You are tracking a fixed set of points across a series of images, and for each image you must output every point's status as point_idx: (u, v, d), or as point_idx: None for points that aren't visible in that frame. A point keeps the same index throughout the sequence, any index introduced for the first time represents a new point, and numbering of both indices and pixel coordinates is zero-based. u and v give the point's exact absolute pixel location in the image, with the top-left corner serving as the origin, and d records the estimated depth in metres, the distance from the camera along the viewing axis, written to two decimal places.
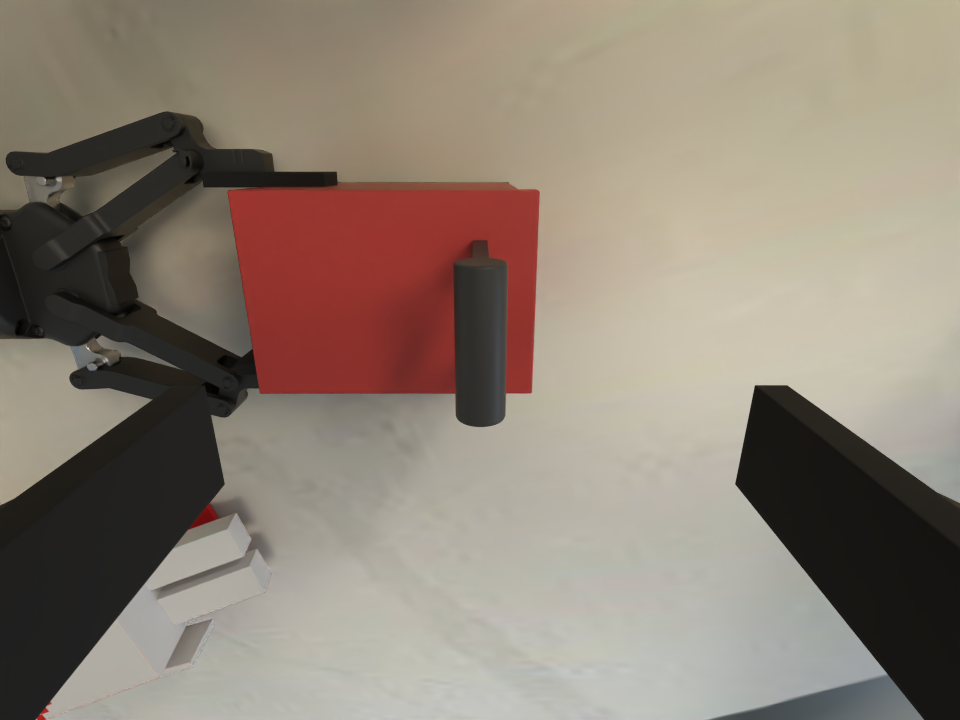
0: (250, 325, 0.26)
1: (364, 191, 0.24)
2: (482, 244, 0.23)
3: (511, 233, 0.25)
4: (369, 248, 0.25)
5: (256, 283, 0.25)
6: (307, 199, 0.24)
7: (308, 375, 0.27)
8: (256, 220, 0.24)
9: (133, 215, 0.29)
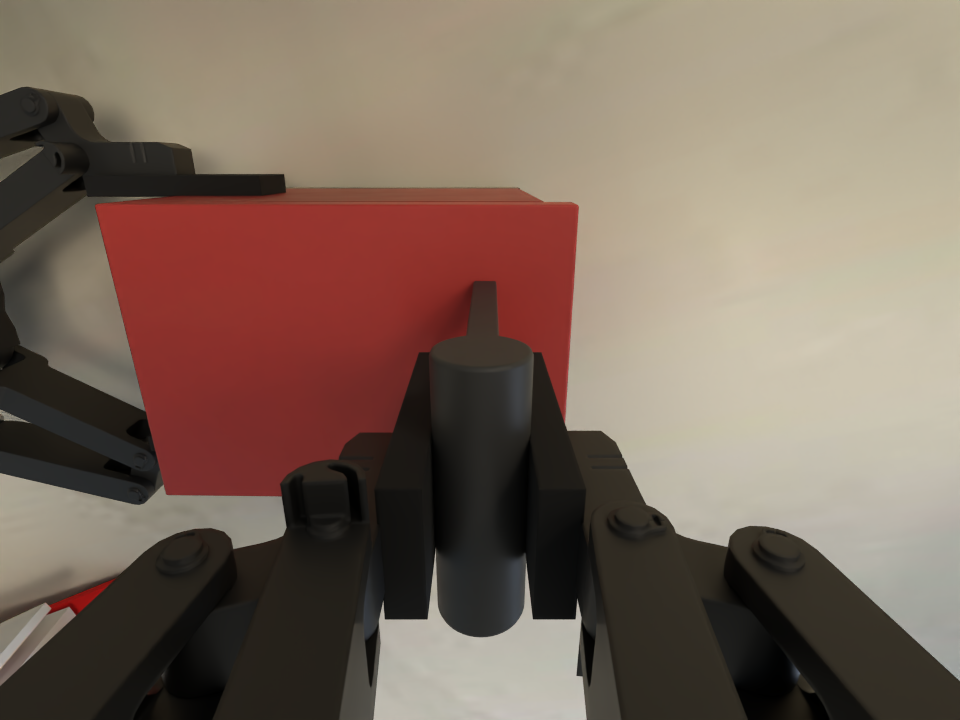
0: (145, 401, 0.18)
1: (305, 206, 0.15)
2: (488, 291, 0.15)
3: (533, 270, 0.16)
4: (315, 293, 0.16)
5: (149, 342, 0.17)
6: (218, 218, 0.15)
7: (234, 471, 0.19)
8: (142, 249, 0.16)
9: None
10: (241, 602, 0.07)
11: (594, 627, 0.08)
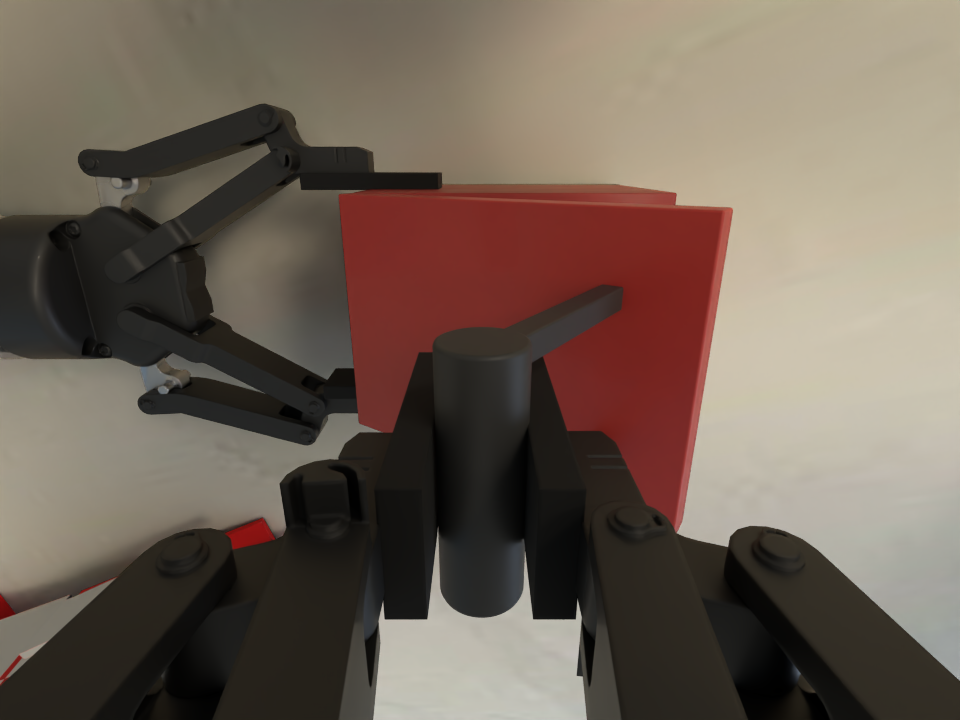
0: (353, 347, 0.23)
1: (466, 200, 0.17)
2: (596, 295, 0.14)
3: (665, 280, 0.14)
4: (467, 278, 0.18)
5: (359, 302, 0.22)
6: (407, 208, 0.19)
7: None
8: (360, 230, 0.21)
9: (219, 221, 0.25)
10: (241, 602, 0.07)
11: (594, 627, 0.08)
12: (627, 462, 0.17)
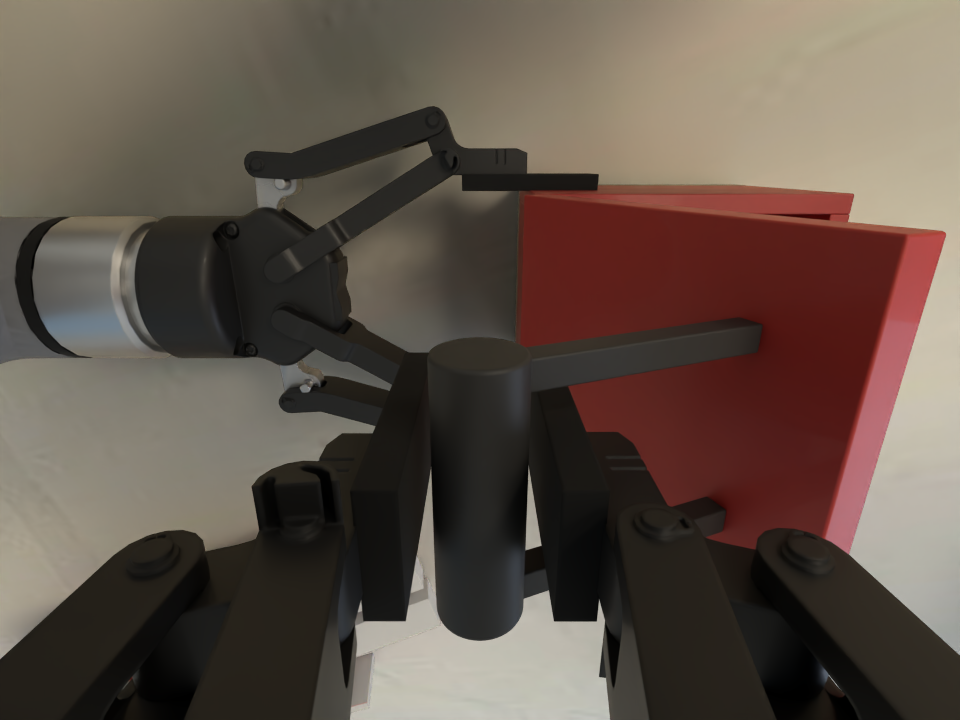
0: (520, 344, 0.23)
1: (619, 206, 0.16)
2: (707, 328, 0.11)
3: (814, 323, 0.11)
4: (611, 290, 0.17)
5: (528, 301, 0.22)
6: (571, 211, 0.18)
7: None
8: (536, 231, 0.21)
9: (376, 222, 0.26)
10: (212, 604, 0.07)
11: (618, 628, 0.08)
12: (744, 546, 0.13)
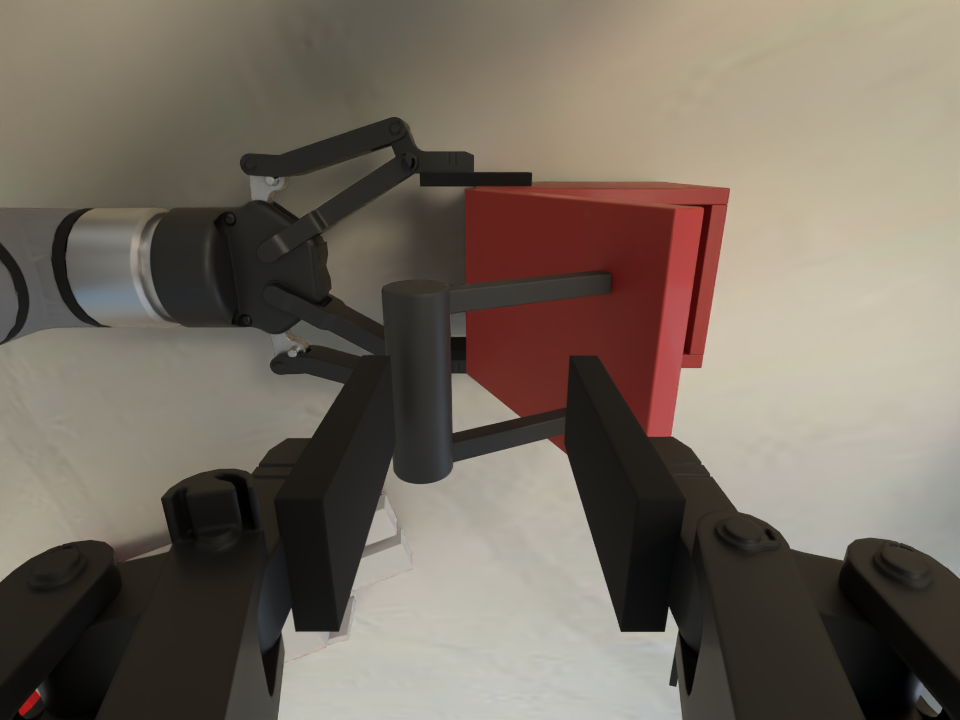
0: None
1: (528, 196, 0.21)
2: (572, 275, 0.17)
3: (637, 269, 0.16)
4: (526, 259, 0.22)
5: (470, 275, 0.28)
6: (497, 201, 0.24)
7: (487, 372, 0.28)
8: (474, 217, 0.26)
9: (350, 212, 0.31)
10: (117, 618, 0.07)
11: (694, 637, 0.08)
12: None
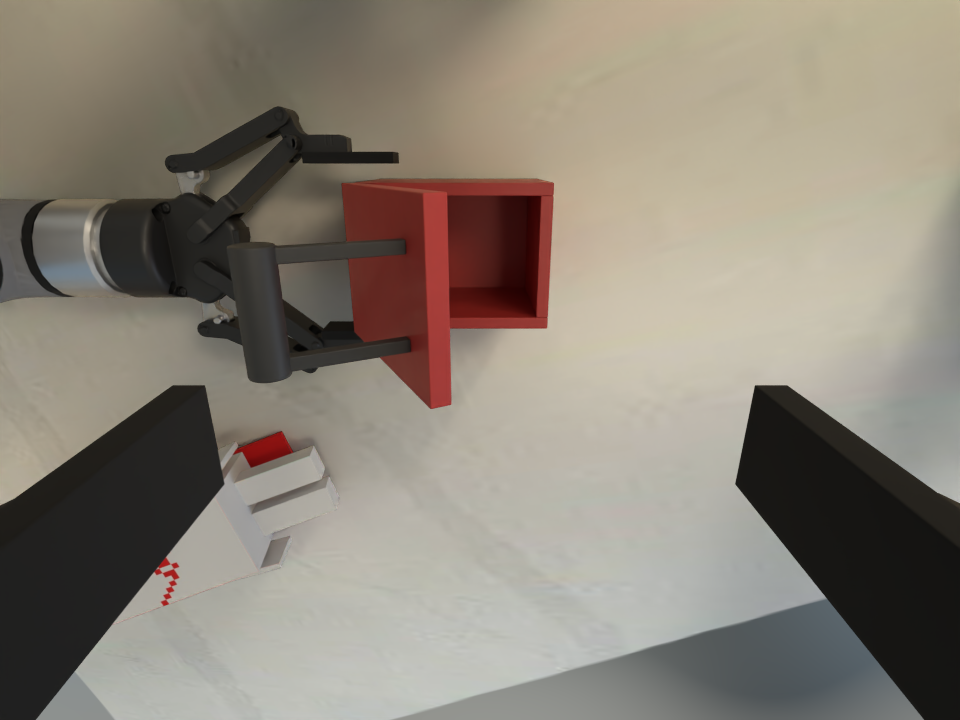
0: (350, 281, 0.36)
1: (369, 187, 0.29)
2: (375, 240, 0.24)
3: (414, 235, 0.24)
4: (372, 235, 0.30)
5: None
6: (356, 191, 0.31)
7: (363, 328, 0.35)
8: (347, 205, 0.34)
9: (255, 192, 0.38)
10: None
11: None
12: (415, 355, 0.26)
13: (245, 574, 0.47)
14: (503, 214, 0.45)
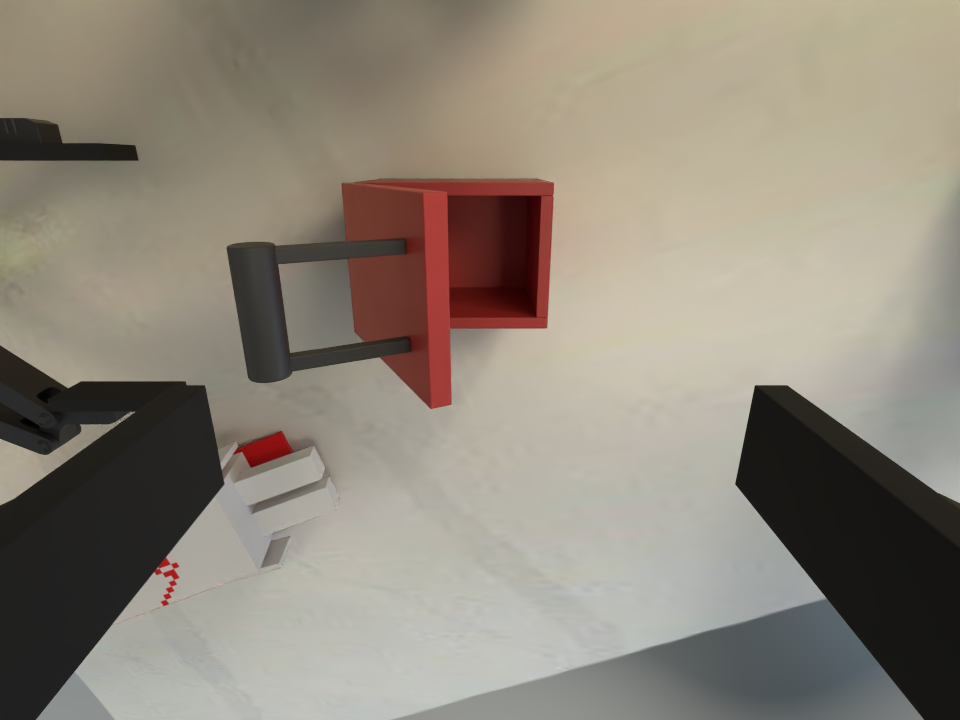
0: (350, 281, 0.36)
1: (369, 187, 0.29)
2: (375, 240, 0.24)
3: (414, 235, 0.24)
4: (372, 235, 0.30)
5: None
6: (356, 191, 0.31)
7: (363, 328, 0.35)
8: (347, 205, 0.34)
9: None
10: None
11: None
12: (415, 354, 0.26)
13: (245, 574, 0.47)
14: (503, 214, 0.45)
